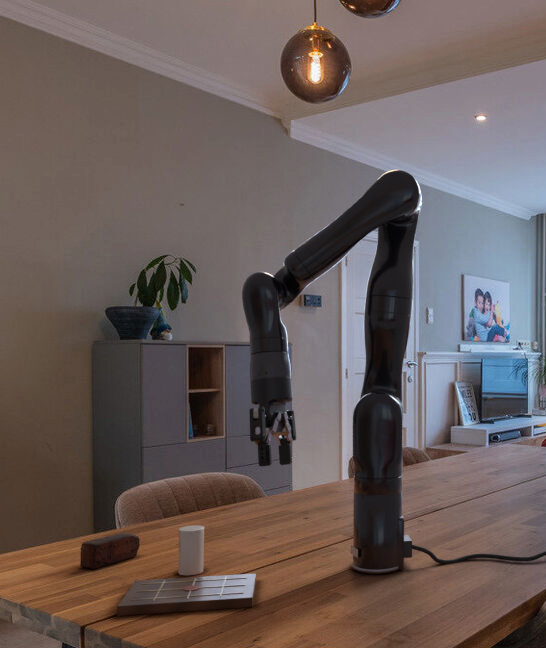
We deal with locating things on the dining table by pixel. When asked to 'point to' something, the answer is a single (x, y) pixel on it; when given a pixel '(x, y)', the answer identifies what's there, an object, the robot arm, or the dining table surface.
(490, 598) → the dining table surface
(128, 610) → the board
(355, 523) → the robot arm
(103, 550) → the brick
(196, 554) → the white upright cylinder
